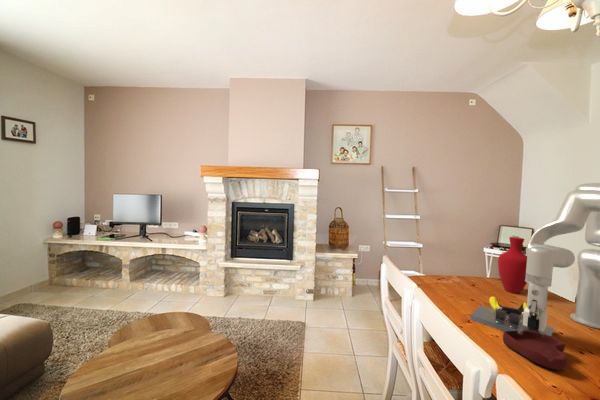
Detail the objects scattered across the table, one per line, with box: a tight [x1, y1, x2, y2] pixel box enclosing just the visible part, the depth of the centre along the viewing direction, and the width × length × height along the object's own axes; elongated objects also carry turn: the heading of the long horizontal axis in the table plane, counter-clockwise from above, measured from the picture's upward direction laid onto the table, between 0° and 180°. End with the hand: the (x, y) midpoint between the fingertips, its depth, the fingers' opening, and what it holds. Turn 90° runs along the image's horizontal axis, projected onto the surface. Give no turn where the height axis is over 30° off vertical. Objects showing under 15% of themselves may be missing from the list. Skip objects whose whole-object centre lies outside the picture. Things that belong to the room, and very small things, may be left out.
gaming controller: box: [488, 296, 527, 318], centre depth 122 cm, size 15×6×10 cm
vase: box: [497, 236, 528, 295], centre depth 150 cm, size 15×15×30 cm
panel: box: [469, 305, 555, 337], centre depth 112 cm, size 25×15×6 cm, turn 42°
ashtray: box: [502, 330, 569, 372], centre depth 93 cm, size 18×16×5 cm
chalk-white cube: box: [523, 307, 549, 332], centre depth 105 cm, size 6×6×6 cm
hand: (534, 325), depth 105 cm, fingers closed on chalk-white cube, 6 cm apart
